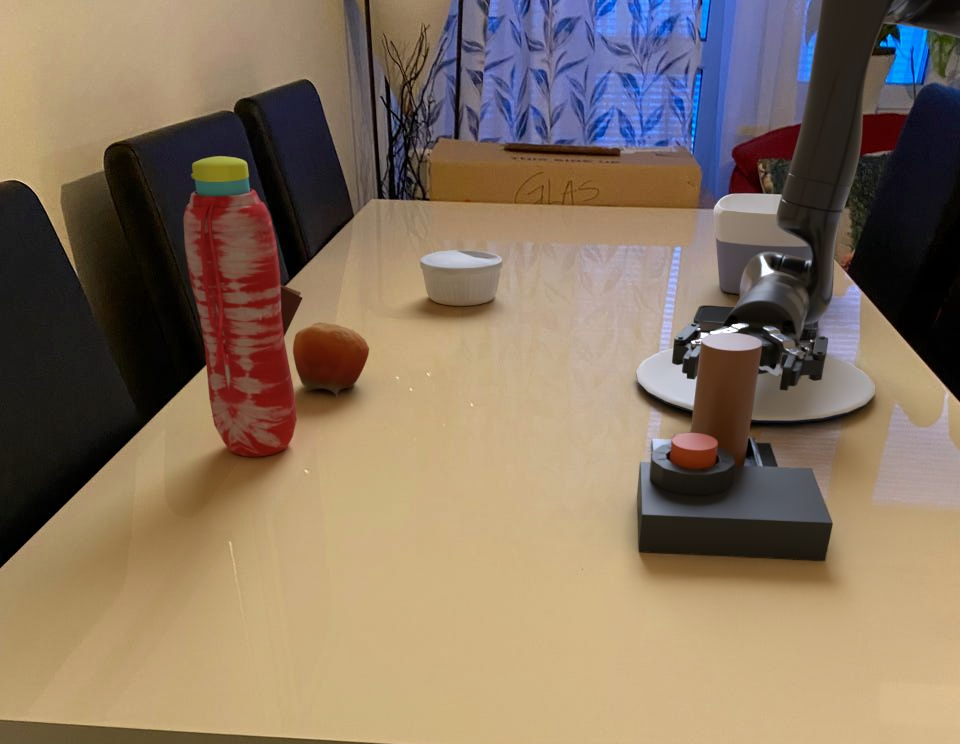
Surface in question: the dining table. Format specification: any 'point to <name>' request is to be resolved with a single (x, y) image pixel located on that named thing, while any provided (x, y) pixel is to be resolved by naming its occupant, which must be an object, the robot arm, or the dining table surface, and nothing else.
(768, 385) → the plate
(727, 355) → the tall brown tube
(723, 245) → the white and lavender bin
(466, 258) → the ramekin
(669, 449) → the red push button box
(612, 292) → the dining table surface
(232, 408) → the water bottle
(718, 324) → the phone
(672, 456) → the button
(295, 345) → the fruit
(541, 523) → the dining table surface
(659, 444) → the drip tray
